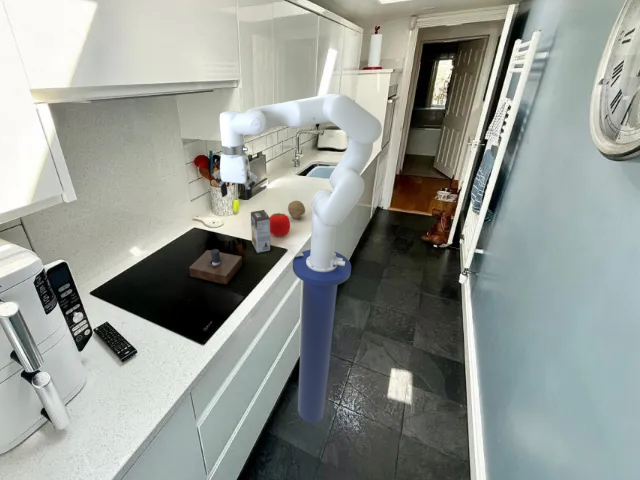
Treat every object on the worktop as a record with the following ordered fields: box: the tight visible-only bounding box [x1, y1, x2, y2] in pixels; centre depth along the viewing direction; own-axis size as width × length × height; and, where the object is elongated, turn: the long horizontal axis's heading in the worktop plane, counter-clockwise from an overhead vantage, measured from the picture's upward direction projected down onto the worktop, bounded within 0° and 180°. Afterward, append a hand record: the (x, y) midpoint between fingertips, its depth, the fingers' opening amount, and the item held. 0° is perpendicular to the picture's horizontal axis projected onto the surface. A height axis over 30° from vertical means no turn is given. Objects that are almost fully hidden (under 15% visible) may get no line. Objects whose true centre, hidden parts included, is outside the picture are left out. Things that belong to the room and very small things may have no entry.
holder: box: [188, 249, 243, 286], centre depth 122 cm, size 16×14×4 cm
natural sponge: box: [287, 200, 306, 220], centre depth 162 cm, size 9×9×10 cm
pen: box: [210, 248, 220, 265], centre depth 121 cm, size 3×3×9 cm
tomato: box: [269, 212, 291, 237], centre depth 146 cm, size 10×11×11 cm
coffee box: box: [250, 209, 271, 254], centre depth 135 cm, size 9×6×16 cm
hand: (236, 197), depth 112 cm, fingers open, 9 cm apart
